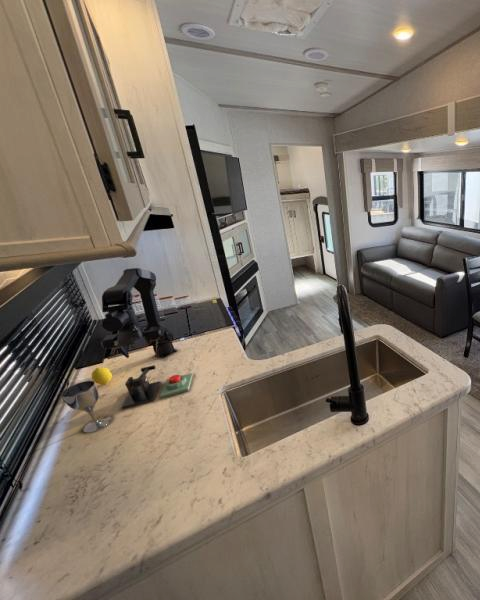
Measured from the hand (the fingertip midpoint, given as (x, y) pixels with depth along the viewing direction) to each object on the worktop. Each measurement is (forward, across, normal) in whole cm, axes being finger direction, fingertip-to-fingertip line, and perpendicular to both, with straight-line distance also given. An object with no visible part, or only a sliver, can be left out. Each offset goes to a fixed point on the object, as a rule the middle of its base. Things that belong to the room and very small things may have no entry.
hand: (142, 354), depth 124 cm
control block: (+11, +11, -13) cm, 20 cm away
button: (+8, +11, -13) cm, 19 cm away
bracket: (+11, 0, -13) cm, 17 cm away
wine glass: (+11, -10, -24) cm, 28 cm away
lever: (+7, 0, -7) cm, 10 cm away
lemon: (+11, -16, +3) cm, 20 cm away
